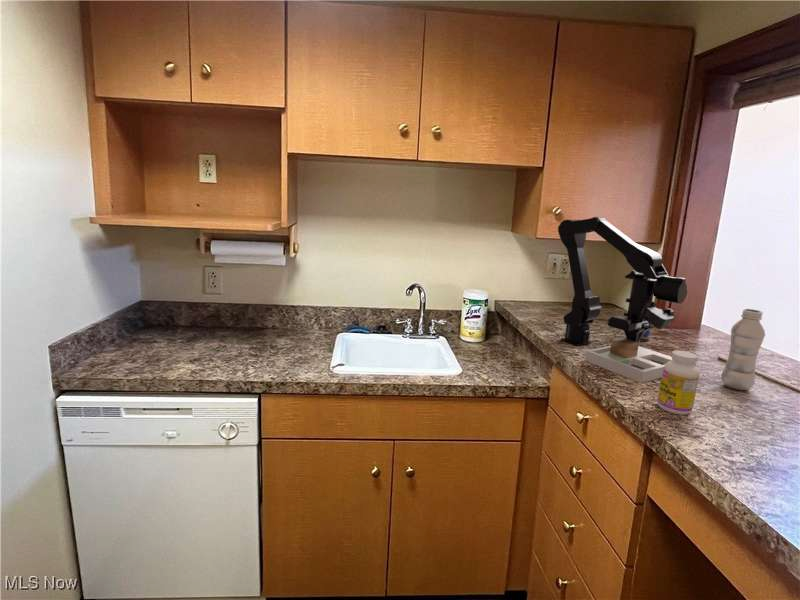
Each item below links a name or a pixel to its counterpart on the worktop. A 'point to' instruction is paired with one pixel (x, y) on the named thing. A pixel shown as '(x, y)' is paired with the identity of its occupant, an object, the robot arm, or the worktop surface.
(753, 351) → the plastic bottle
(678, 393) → the supplement bottle
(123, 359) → the worktop surface
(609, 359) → the trap box
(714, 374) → the worktop surface
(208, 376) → the worktop surface
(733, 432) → the worktop surface
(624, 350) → the walnut block
